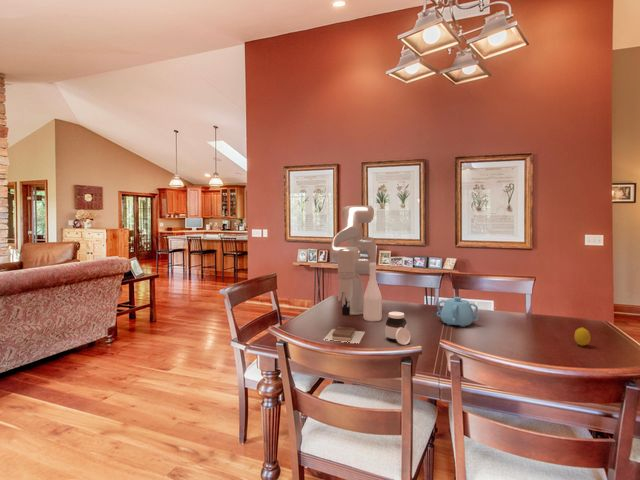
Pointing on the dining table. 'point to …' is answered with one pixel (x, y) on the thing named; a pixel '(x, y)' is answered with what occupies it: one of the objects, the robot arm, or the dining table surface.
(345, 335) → the slab
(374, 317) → the wine bottle
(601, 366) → the dining table surface
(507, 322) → the dining table surface
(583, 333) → the lemon
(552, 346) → the dining table surface
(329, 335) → the mat
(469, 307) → the decorative pot
